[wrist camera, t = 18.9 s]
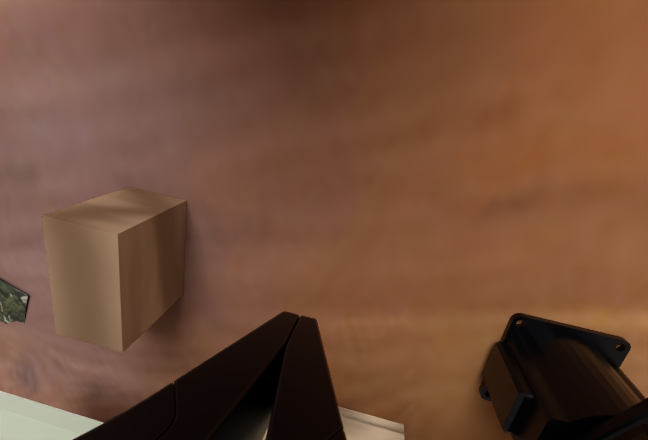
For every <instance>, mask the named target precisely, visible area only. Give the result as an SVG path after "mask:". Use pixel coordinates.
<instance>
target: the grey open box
mask: <svg viewBox="0 0 648 440" xmlns="http://www.w3.org/2000/svg"><path fill="white" fill-rule="evenodd" d="M338 407H339V406H338ZM339 411H340V415H341V419H342V423H343V427H344V430H343V431H344V432H345V435H346V439H347V440H405V438H404V425H403V424H400V423H396V422H393V421H389V420H386V419H382V418H378V417H375V416H371V415H368V414H364V413H361V412H357V411H353V410H350V409H346V408H343V407H339ZM267 430H268V428H267ZM267 430H266V432H265V435H264V437H263V439H262V440H265V439H266V435H267Z"/></svg>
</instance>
